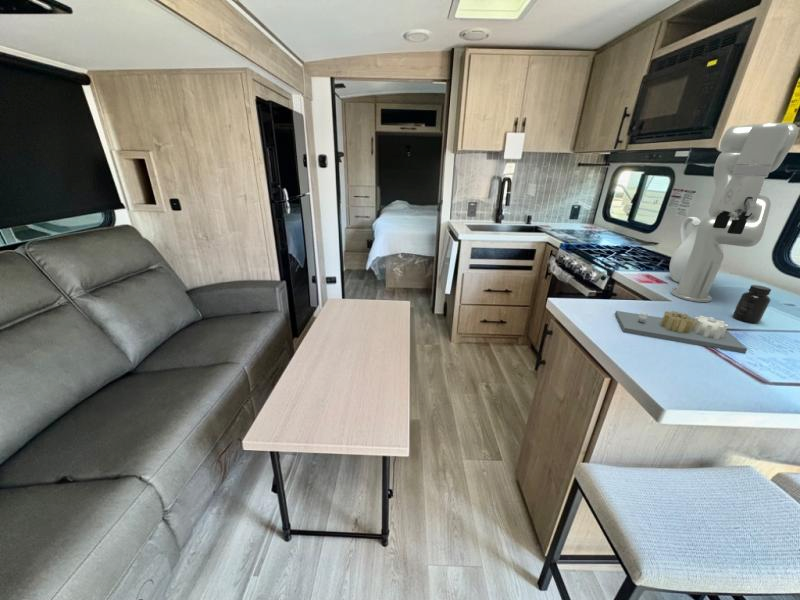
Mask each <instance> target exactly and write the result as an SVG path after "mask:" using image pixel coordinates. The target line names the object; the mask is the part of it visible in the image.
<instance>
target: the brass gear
mask: <svg viewBox="0 0 800 600" xmlns="http://www.w3.org/2000/svg"><path fill="white" fill-rule="evenodd" d="M677 317H678V318H677ZM661 318H662V321H661V323H660V325H661V326H664V327H665V328H666V329H667V330H672V331H676V332H677V333H681V332H682V333H684V332H685V333H689V332H690V329H691V327H692V325H693V322H694V320H695V318H694V317H691V316H689V314H686V313H681V312H678V311H674V310H673V311H668V310H666V311H665V312H664V313H663V316H662V317H661Z"/></svg>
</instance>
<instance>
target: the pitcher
mask: <svg viewBox="0 0 800 600" xmlns="http://www.w3.org/2000/svg"><path fill="white" fill-rule="evenodd" d="M701 221H702V220H700V218H698V217H696V216H688V217H687V218H685V219H684V220H683V221H682V223H680V224H681V225H680V227H679V235H680V241H681V242H680V243H681V244H680V245H679V246H678V247H677V248H676V249H675V251H674V253H673V254H672V255H671V258H670V262H669V274H670V277H671V280H672V281H674V282H676V283H678V284H679V283H680V280H681V278H682V275H683V273H684V270H685V267H686V265H687V262H688V260H689V257H690V254H691V252H692V249H693V246H694V243H695V239H696V234H697V229H698V225H699V223H700V222H701ZM689 223H691V224H692V229H691V231H690V234H688V236H687V235H686V234H687V232H686V231H687V227H688V225H689ZM719 247H720V249H721V250H722V252H723V253H724V251H723V244H719ZM722 263H723V262H722ZM722 263H721V265H720V267H719V270H720V269H721V267H722ZM719 270H718V272H719Z"/></svg>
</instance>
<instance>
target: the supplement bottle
mask: <svg viewBox="0 0 800 600" xmlns="http://www.w3.org/2000/svg"><path fill="white" fill-rule="evenodd" d="M771 291H772V289H771V288H770V287H767V286H762V285H759V284H758V285H757V284H752V285H750V286H749V289H748V291H746V292H744V293H743V294H741V297H740V298H739V301H738V303H737V305H736V307H735V309H734V311H733V313H732V317H733V318H734V319H736V320H737V321H740V322H744V323H747V324H758V323H760V322H761V320H762V319H763V316H764V314H765V312H766V310H767V309H768V307H769V304H770V303H771V298H770V297H769V295H770V294H771Z"/></svg>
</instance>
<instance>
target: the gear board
mask: <svg viewBox="0 0 800 600" xmlns="http://www.w3.org/2000/svg"><path fill="white" fill-rule="evenodd" d="M615 315H616V316H615ZM614 316H615V319H616V320H617V322H618V325H619V327H620V328H621V331H622V333H627V334H630V335H631V334H632V335H638V336H644V337H650V338H654V339H655V338H656V339H659V340H667V341H671V342H672V341H673V342H677V343H683V344H689V345H696V346H699V347H700V346H701V347H705V346H708V348H711V347H714V348H713V349H717V348H720V349H719V350H723V349H726V350H725V351H728V350H731V351H730V352H734V351H735V352H736V353H740V354H746V353H747V350H748V348H747V347H746V346H745V345H744V344H743V343H742V342H741V341H739V340H738V339H737V338H736V337H735V336H734V335H733V334H732V333H731V332H729V331H728V330H727V329H728V327H729V325H728V324H727V323H726V322H725V321H724V320H718V319H715V317H712V316H710V317H709V316H704V315H699V316H698V317H697V316H695V318H694V319H695V320H694V322H693V325H692V327H691V329H690V332H689V333H685V332H684V333H682V332H681V333H677V332H676V331H672V330H667V329H666V328H665V327H664V326H661V325H660V323H661V321H662V318H663V317H659V316H653V315H648V313H647V312H645V311H644V312H643V311H642V312H641V313H635V312H628V311H620V310H615V313H614ZM677 318H678V317H677Z"/></svg>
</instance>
